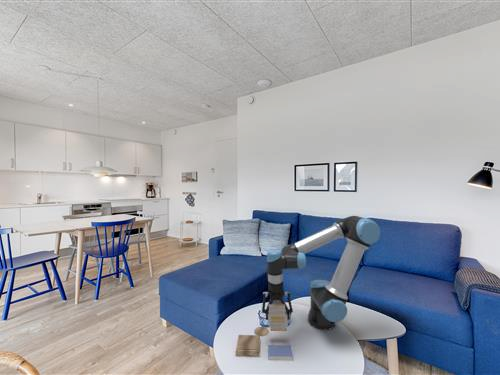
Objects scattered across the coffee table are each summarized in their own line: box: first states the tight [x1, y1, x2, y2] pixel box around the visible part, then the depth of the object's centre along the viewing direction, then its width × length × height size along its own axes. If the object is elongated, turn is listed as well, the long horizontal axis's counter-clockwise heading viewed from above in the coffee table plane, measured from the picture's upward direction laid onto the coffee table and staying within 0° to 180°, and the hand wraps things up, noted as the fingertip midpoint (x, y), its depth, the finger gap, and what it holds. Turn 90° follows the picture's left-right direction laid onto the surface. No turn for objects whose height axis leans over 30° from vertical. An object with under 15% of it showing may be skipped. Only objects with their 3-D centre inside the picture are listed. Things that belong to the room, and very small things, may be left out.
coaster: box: [253, 326, 270, 337], centre depth 125 cm, size 8×8×1 cm
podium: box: [235, 334, 261, 358], centre depth 113 cm, size 11×11×3 cm
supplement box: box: [269, 300, 287, 332], centre depth 118 cm, size 8×5×13 cm, turn 84°
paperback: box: [267, 344, 294, 361], centre depth 108 cm, size 7×11×2 cm, turn 87°
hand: (278, 325), depth 118 cm, fingers closed on supplement box, 8 cm apart
